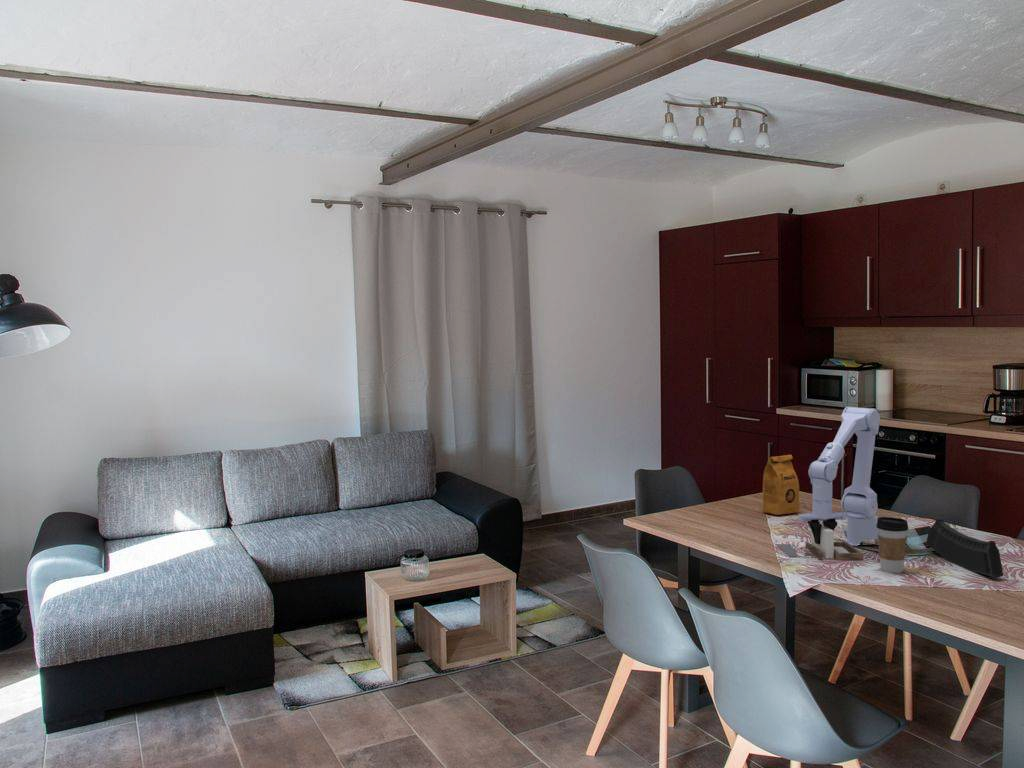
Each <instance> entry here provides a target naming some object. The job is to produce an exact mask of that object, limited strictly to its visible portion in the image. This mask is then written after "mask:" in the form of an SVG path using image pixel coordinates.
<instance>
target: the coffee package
mask: <svg viewBox="0 0 1024 768" xmlns="http://www.w3.org/2000/svg"><path fill="white" fill-rule="evenodd" d="M791 460H793V455H792V454H787V455H786V454H783V455H778V456H777V455H776V456H770V457H769V459H768V460H767V462H766V466H765V467H764V471H763V476H762V477H763V478H762V511H763V513H764V514H770V515H775V516H782V515H791V514H794V513H796V514H797V513H799V510H800V484H799V478H798V475H797V472H796V471H795V469H794V466H793V463H792V461H791Z"/></svg>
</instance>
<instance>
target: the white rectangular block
mask: <svg viewBox="0 0 1024 768" xmlns="http://www.w3.org/2000/svg"><path fill="white" fill-rule="evenodd" d="M810 532H811V533H810V534H811V535H810V544H811V545H813V546H814V547H815V548H816V549H818V550H819V551H820V552H821V553H823V558H824V557H825V558H824V559H826V558H827V560H828V559H829V558H830V559H834V542H835V530H834V531H833V530H831V529H829V528H827V527H825V526H823V524H822V527H821V533H820V544H816V543H815V540H814V536H813V533H812V530H811V529H810Z"/></svg>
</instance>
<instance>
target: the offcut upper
mask: <svg viewBox="0 0 1024 768" xmlns="http://www.w3.org/2000/svg"><path fill="white" fill-rule="evenodd" d="M834 550H836V551H837V552H838V553H849V552H848V551H847V550H845V549H844V548H843V547H834Z"/></svg>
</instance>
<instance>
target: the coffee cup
mask: <svg viewBox="0 0 1024 768" xmlns="http://www.w3.org/2000/svg"><path fill="white" fill-rule="evenodd" d="M877 518H878V519H877V524H876V525H877V526H876V527H877V528H878V545H879V546H878V552H879V553H878V555H879V561H880V562H879V566H880V570H881V571H883V572H885V571H886V573H891V574H893V573H894V574H899V573H903V572H904V566H905V556H906V549H907V541H908V540H907V539H908V535H907V532H908V530H909V524H908V520H906V519H904V518H900V517H899V518H898V517H891V516H890V517H889V516H877Z"/></svg>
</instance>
